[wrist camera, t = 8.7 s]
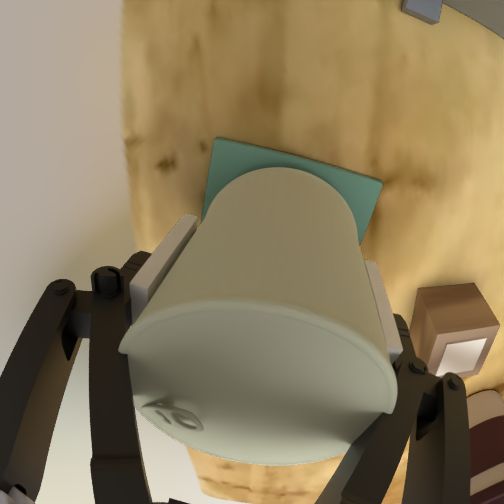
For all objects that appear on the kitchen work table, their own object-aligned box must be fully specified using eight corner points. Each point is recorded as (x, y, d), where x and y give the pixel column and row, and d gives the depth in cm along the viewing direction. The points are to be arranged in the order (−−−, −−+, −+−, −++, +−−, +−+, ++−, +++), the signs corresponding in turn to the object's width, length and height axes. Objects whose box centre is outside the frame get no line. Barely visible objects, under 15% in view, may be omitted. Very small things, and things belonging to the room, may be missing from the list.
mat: (217, 137, 18) (214, 138, 18) (380, 180, 18) (383, 183, 17) (195, 275, 23) (193, 279, 23) (329, 308, 23) (330, 314, 22)
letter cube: (417, 287, 21) (437, 336, 17) (473, 282, 20) (500, 326, 16) (407, 337, 23) (421, 385, 19) (459, 330, 22) (478, 375, 18)
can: (180, 192, 18) (55, 331, 8) (337, 147, 16) (399, 274, 6) (234, 314, 22) (188, 472, 12) (367, 288, 20) (398, 463, 9)
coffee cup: (422, 432, 30) (435, 539, 18) (460, 383, 26) (491, 512, 13) (482, 424, 29) (502, 518, 16) (521, 377, 24) (558, 482, 12)
